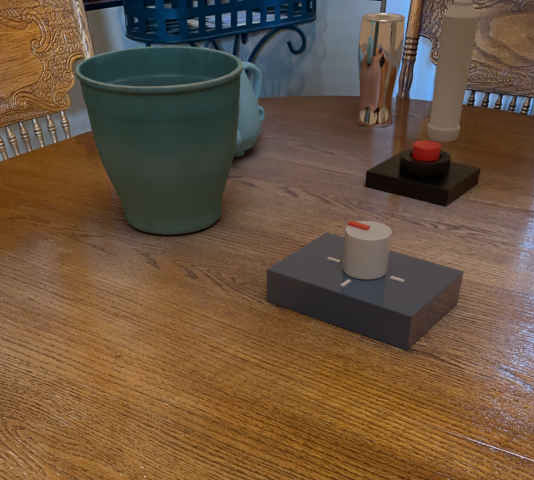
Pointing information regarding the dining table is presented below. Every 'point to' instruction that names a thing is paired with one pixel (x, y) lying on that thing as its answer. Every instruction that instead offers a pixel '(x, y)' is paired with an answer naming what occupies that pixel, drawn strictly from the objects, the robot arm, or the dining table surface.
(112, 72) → the flower pot
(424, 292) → the panel
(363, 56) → the beer glass
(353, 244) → the tap knob
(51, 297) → the dining table surface
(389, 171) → the box
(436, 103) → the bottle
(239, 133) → the decorative pot
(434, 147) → the button
